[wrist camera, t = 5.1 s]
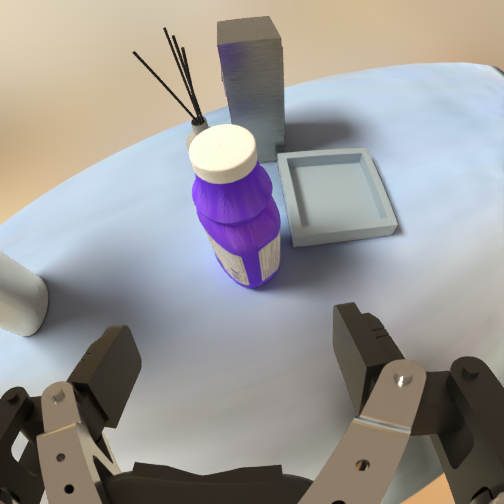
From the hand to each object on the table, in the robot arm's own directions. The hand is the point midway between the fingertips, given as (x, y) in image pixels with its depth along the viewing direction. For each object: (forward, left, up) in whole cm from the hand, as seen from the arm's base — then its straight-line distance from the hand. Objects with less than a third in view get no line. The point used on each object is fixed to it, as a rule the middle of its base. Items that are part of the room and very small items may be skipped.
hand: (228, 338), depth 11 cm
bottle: (0, +11, -19) cm, 22 cm away
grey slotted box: (+3, +29, -18) cm, 35 cm away
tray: (+11, +18, -18) cm, 28 cm away
